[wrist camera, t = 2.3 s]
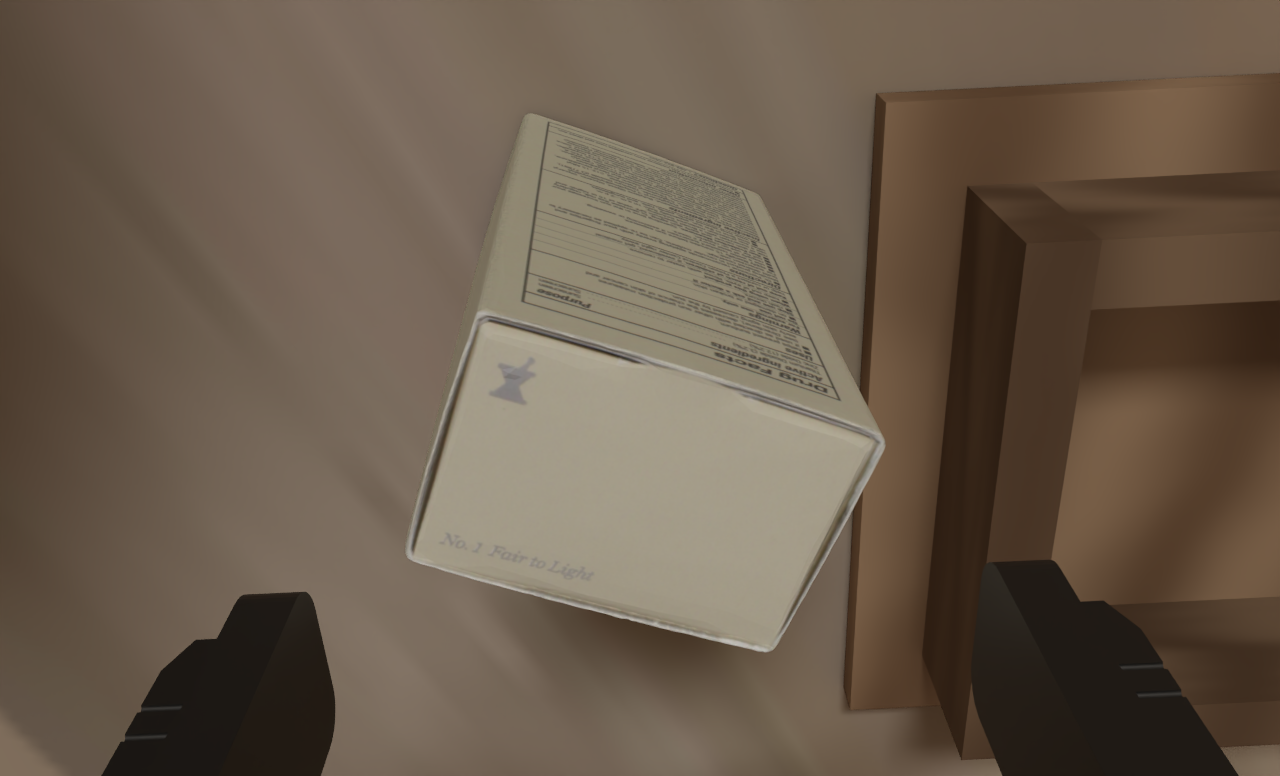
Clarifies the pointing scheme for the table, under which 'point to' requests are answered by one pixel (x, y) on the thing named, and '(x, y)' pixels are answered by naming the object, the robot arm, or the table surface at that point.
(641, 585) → the skincare box
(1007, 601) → the robot arm
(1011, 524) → the brown wooden tray
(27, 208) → the table surface
